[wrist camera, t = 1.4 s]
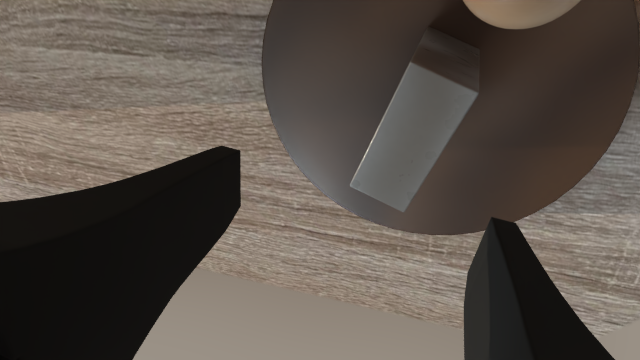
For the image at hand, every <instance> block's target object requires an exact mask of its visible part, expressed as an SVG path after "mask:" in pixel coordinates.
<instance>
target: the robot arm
mask: <svg viewBox="0 0 640 360" xmlns="http://www.w3.org/2000/svg"><path fill="white" fill-rule="evenodd" d="M240 206H241V195H240V150H236V149H232V148H229V147H225V146H219V147H215V148H212V149H209V150H206V151H203V152H201V153H198V154H195V155H193V156H190V157H187V158H185V159H182V160H179V161H176V162H174V163H171V164H168V165H166V166H163V167H160V168H157V169H154V170H151V171H148V172H145V173H142V174H139V175H136V176H133V177H130V178H127V179H123V180H120V181H116V182H113V183H109V184H105V185H101V186H97V187H93V188H89V189H84V190H80V191H74V192H69V193H63V194H57V195H52V196H46V197H40V198H33V199H26V200H18V201H9V202H0V360H132V359H133V358H134V356H135V354H136V352H137V351H138V349H139V348H140V346H141V345H142V343H143V341H144V340H145V338H146V337H147V335H148V333H149V331H150V330H151V328H152V327H153V325H154V324H155V322H156V320H157V319H158V318H159V316H160V315H161V313H162V312H163V310H164V308H165V307H166V306H167V304H168V302H169V301H170V299H171V298H172V296H173V295H174V294H175V292H176V291H177V290H178V289H179V287H180V286H181V285H182V284H183V282H184V281H185V280H186V279H187V277H188V276H189V275H190V274H191V272H192V271H193V270H194V269H195V268H196V267H197V265H198V264H199V263H200V262H201V261H202V259H203V258H204V257H205V256H206V255H207V253H208V252H209V251H210V250H211V248H212V247H213V246H214V245H215V244H216V242H217V241H218V240H219V239H220V237H221V236H222V235H223V234H224V232H225V231H226V229H227V228H228V226H229V224H230V223H231V221H232V220H233V218H234V216H235V215H236V213H237V211H238V209H239V208H240ZM464 352H465V353H464V355H465V356H464V357H465V360H615V359H614V358H613V357H612V356H611V355H610V354H609V353H608V351H607V350H606V349H605V348H604V347H603V346H602V345H601V343H600V342H599V341H598V340H597V339H596V338H595V337H594V335H593V334H592V333H591V332H590V331H589V330H588V328H587V327H586V326H585V325H584V324H583V322H582V321H581V320H580V319H579V317H578V316H577V315H576V313H575V312H574V311H573V309H572V308H571V307H570V305H569V304H568V303H567V301H566V300H565V299H564V297H563V296H562V295H561V293H560V292H559V290H558V289H557V288H556V286H555V285H554V283H553V282H552V280H551V279H550V277H549V276H548V274H547V273H546V271H545V270H544V268H543V267H542V265H541V264H540V262H539V260H538V259H537V257H536V256H535V254H534V252H533V251H532V249H531V247H530V246H529V244H528V242H527V241H526V239H525V237H524V236H523V234H522V232H521V231H520V229H519V227H518V226H517V224H516V223H513V222H509V221H506V220H502V219H498V218H494V217H491V219H490V221H489V223H488V226H487V228H486V231H485V233H484V235H483V238H482V240H481V242H480V245H479V247H478V250H477V252H476V254H475V257H474V259H473V261H472V264H471V266H470V269H469V271H468V275H467V283H466V291H465V300H464Z"/></svg>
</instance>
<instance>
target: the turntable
mask: <svg viewBox="0 0 640 360" xmlns="http://www.w3.org/2000/svg"><path fill="white" fill-rule="evenodd" d="M639 59H640V36H639V22H638V17H637V13H636V8H635V4H634V0H273V3H272V6H271V9H270V12H269V15H268V19H267V23H266V29H265V34H264V39H263V51H262V75H263V86H264V92H265V97H266V103H267V106H268V109H269V113H270V116H271V119H272V122H273V124H274V127H275V129H276V131H277V134H278V136H279V138H280V140H281V142H282V144H283V145H284V147H285V149H286V150H287V152H288V154H289V156H290V157H291V158H292V160H293V161H294V162H295V164H296V165H297V166H298V168H299V169H300V170H301V172H302V173H303V174H304V175H305V176H306V177H307V178H308V179H309V180H310V181H311V182H312V183H313V184H314V185H315V186H316V187H317V188H318V189H319V190H320V191H322V192H323V193H324V194H325V195H326V196H327V197H329V198H330V199H332V200H333V201H334V202H336V203H337V204H339V205H340V206H342V207H343V208H345V209H347V210H349V211H350V212H352V213H354V214H356V215H358V216H360V217H362V218H364V219H367V220H369V221H371V222H374V223H376V224H379V225H383V226H386V227H389V228H392V229H396V230H401V231H406V232H410V233H418V234H428V235H457V234H467V233H475V232H480V231H484V230H486V228H487V226H488V223H489V221H490V219H491V217H494V218H498V219H502V220H506V221H509V222H515V221H517V220H520V219H522V218H524V217H527V216H529V215H531V214H533V213H535V212H537V211H539V210H540V209H542V208H544V207H546V206H547V205H549V204H551V203H552V202H554V201H555V200H557V199H558V198H559V197H561V196H562V195H563V194H565V193H566V192H567V191H569V190H570V189H571V188H573V187H574V186H575V185H576V184H577V183H578V182H579V181H580V180H581V179H582V178H583V177H584V176H585V175H586V174H587V173H588V172H589V171H590V170H591V169H592V168H593V167H594V166H595V164H596V163H597V162H598V161H599V159H600V158H601V157H602V156H603V154H604V153H605V152H606V151H607V149H608V147H609V146H610V144H611V142H612V141H613V139H614V138H615V136H616V134H617V133H618V131H619V129H620V127H621V125H622V123H623V120H624V118H625V116H626V113H627V111H628V109H629V107H630V104H631V100H632V97H633V93H634V89H635V85H636V82H637V77H638V68H639Z"/></svg>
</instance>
